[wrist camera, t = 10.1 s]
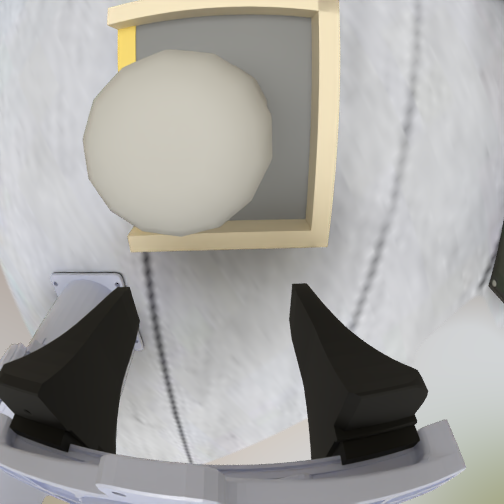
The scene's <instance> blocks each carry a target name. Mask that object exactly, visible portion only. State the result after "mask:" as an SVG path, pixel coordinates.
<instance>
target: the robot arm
mask: <svg viewBox="0 0 504 504" xmlns="http://www.w3.org/2000/svg"><path fill="white" fill-rule="evenodd" d="M50 279H51V282H52V285H53V287H54V290H55V292H56V294H57V297H58V298H57V300H56V301H55V303H54V304H53V306H52V308H51V309H50V311H49V312H48V314H47V315H46V317H45V318H44V320H43V322H42V323H41V325H40V326H39V328H38V330H37V331H36V333H35V335H34V336H33V338H32V340H31V341H30V343H29V345H28V346H27V347H25V346H24V345H23V344H22V343H18V344H12V345H10V347H9V348H8V349H7V350H6V352H5V353H4V355H3V356H2V358H1V359H0V504H42V502H43V500H44V498H45V497H46V496H49V495H51V496H53V497H55V498H58V499H60V500H62V501H65V502H68V503H70V504H399V503H402V502H405V501H407V500H410V499H413V498H415V497H418V496H420V495H423V494H425V493H427V492H430V491H432V490H435V489H436V488H438V487H440V486H441V485H443V484H444V483H446V482H448V481H449V480H451V479H452V478H454V477H455V476H457V475H458V474H459V473H461V472H462V471H464V470H465V468H466V466H465V463H464V460H463V458H462V455H461V453H460V450H459V447H458V445H457V442H456V440H455V438H454V435H453V433H452V430H451V428H450V426H449V423H448V421H447V420H442V421H439V422H436V423H434V424H430V425H427V426H425V427H423V428H421V429H419V430H418V431H417V430H416V428H415V426H414V425H415V424H416V423H417V419H416V417H415V413H416V412H417V410H418V409H419V408H420V406H421V405H422V404H423V402H424V400H425V399H426V397H427V393H428V390H427V388H426V386H425V383H424V381H423V379H422V377H421V375H420V374H419V372H418V370H416V369H414V368H412V367H409V366H407V365H405V364H402V363H400V362H398V361H396V360H394V359H392V358H390V357H388V356H386V355H384V354H383V353H381V352H379V351H378V350H376V349H375V348H373V347H372V346H370V345H368V344H367V343H366V342H364V341H363V340H361V339H360V338H359V337H358V336H356V335H355V334H354V333H352V332H351V331H350V330H349V329H348V328H347V327H345V326H344V325H343V324H342V323H341V322H340V321H339V320H338V319H337V318H336V317H335V316H334V315H333V314H332V313H331V311H330V310H329V309H328V308H327V307H326V306H325V305H324V304H323V303H322V301H321V300H320V299H319V298H318V297H317V295H316V294H315V293H314V292H313V291H312V289H311V288H310V287H309V286H308V285H307V284H306V283H303V284H292V295H291V306H290V317H289V321H290V329H291V336H292V342H293V345H294V349H295V353H296V357H297V361H298V365H299V368H300V372H301V376H302V380H303V385H304V391H305V398H306V406H307V414H308V423H309V433H310V444H311V460H306V461H297V462H287V463H275V464H259V465H202V464H190V463H178V462H167V461H158V460H150V459H143V458H136V457H130V456H124V455H117V454H116V437H117V416H118V408H119V400H120V396H121V394H122V391H123V388H124V384H125V381H126V377H127V374H128V370H129V367H130V364H131V360H132V357H133V354H134V351H135V350H137V351H141V350H143V348H144V345H143V342H142V339H141V336H140V334H139V331H138V328H139V322H140V320H139V317H138V314H137V311H136V307H135V304H134V301H133V297H132V294H131V290H130V287H125V286H124V283H123V279H122V276H121V275H120V274H118V273H53V274H52V275H51V276H50ZM56 282H57V283H56ZM116 282H117V283H119V284H120V285H118V284H117V283H116Z"/></svg>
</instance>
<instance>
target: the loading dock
mask: <svg viewBox="0 0 504 504" xmlns="http://www.w3.org/2000/svg"><path fill="white" fill-rule="evenodd" d="M107 25H108V26H111V27H113V28H115V29H117V30H118V72H119V71H120V70H121V69H122V68H123V67H125V66H127V65H129V64H132V63H134V62H136V61H138V60H141V59H143V58H145V57H148V56H150V55H153V54H155V53H158V52H160V51H163V50H170V49H172V50H184V51H194V52H203V53H211V54H216V55H217V56H219V57H220V58H222V59H224V60H225V61H227V62H228V63H230V64H232V65H235V66H237V67H238V68H240V69H241V70H243V71H244V72H246V73H247V74H249V75H250V76H252V77H253V78H255V79H256V81H257V83H258V85H259V86H260V88H261V90H262V92H263V94H264V96H265V98H266V100H267V108H268V110H269V112H270V114H271V117H272V160H271V163H270V165H269V167H268V169H267V171H266V173H265V175H264V177H263V179H262V181H261V183H260V185H259V187H258V189H257V191H256V193H255V195H254V197H253V199H252V201H251V202H249V203H248V204H247V205H246V206H245V207H243V208H242V209H241V210H240V211H238V212H237V213H236V214H235V215H234V216H232V217H231V218H230V219H229V220H228V221H226V222H225V223H224V224H223V225H222V226H221V227H218V228H214V229H210V230H206V231H202V232H198V233H194V234H190V235H186V236H182V237H179V236H172V235H165V234H158V233H151V232H144V231H141V230H140V229H138V228H137V227H135V226H134V227H133V229H132V230H131V232H130V233H129V235H128V236H127V237H128V242H129V246H130V251H131V252H159V251H194V250H231V249H269V248H309V247H327V246H328V238H329V230H330V221H331V212H332V202H333V192H334V181H335V169H336V155H337V140H338V122H339V96H340V20H339V0H139V1H134V2H130V3H126V4H122V5H118V6H114V7H110V8H108V19H107Z"/></svg>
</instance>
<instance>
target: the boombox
mask: <svg viewBox="0 0 504 504" xmlns="http://www.w3.org/2000/svg"><path fill="white" fill-rule="evenodd" d="M489 287H490V288H491V289H492V290H493V292H494V293H495V294H496V295H497V296H498V297H499V298H500V299H501V301H502V302H503V303H504V221H503V227H502V232H501V238H500V242H499V247H498V251H497V256H496V260H495V264H494V268H493V272H492V275H491V279H490V282H489Z"/></svg>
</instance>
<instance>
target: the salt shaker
mask: <svg viewBox="0 0 504 504" xmlns="http://www.w3.org/2000/svg"><path fill="white" fill-rule="evenodd" d="M83 145H84V152H85V159H86V165H87V171H88V177H89V180H90V181H91V183H92V184H93V186H94V187H95V189H96V190H97V192H98V193H99V195H100V196H101V198H102V199H103V200H104V202H105V203H106V205H107V206H108V208H109V209H110V210H111V211H112V212H114V213H115V214H117V215H118V216H120V217H121V218H123V219H124V220H126V221H127V222H129V223H131V224H132V225H134V226H135V227H137V228H138V229H140V230H141V231H144V232H151V233H158V234H165V235H172V236H179V237H182V236H186V235H190V234H194V233H198V232H202V231H206V230H210V229H214V228H218V227H221V226H222V225H223V224H224V223H225V222H226V221H228V220H229V219H230V218H231V217H232V216H234V215H235V214H236V213H237V212H238V211H240V210H241V209H242V208H243V207H245V206H246V205H247V204H248V203H249V202H251V201H252V199H253V197H254V195H255V193H256V191H257V189H258V187H259V185H260V183H261V181H262V179H263V177H264V175H265V173H266V171H267V169H268V167H269V165H270V163H271V160H272V117H271V114H270V112H269V110H268V108H267V100H266V98H265V96H264V94H263V92H262V90H261V88H260V86H259V85H258V83H257V81H256V79H255V78H253V77H252V76H250V75H249V74H247V73H246V72H244V71H243V70H241V69H240V68H238V67H237V66H235V65H232V64H230V63H228V62H227V61H225V60H224V59H222V58H220V57H219V56H217V55H216V54H211V53H203V52H194V51H184V50H172V49H170V50H163V51H160V52H158V53H155V54H153V55H150V56H148V57H145V58H143V59H141V60H138V61H136V62H134V63H132V64H129V65H127V66H125V67H123V68H122V69H121V70H120V71H119V72H118V73H117V74H116V75H115V76H114V77H113V78H112V79H111V81H110V82H109V83H108V84H107V85H106V86H105V87H104V88H103V89H102V91H101V92H100V93H99V94H98V95H97V96H96V98H95V99H94V100H93V104H92V107H91V110H90V114H89V118H88V121H87V125H86V129H85V133H84V137H83Z"/></svg>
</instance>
